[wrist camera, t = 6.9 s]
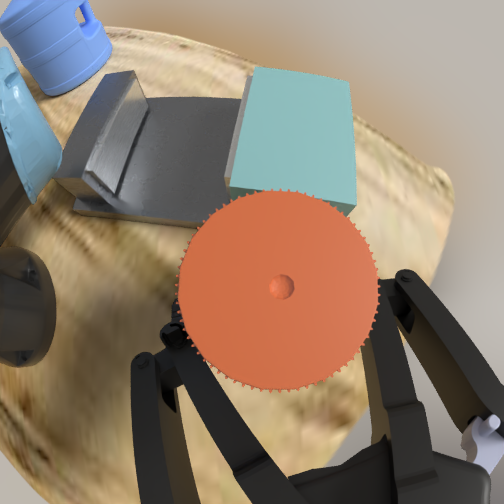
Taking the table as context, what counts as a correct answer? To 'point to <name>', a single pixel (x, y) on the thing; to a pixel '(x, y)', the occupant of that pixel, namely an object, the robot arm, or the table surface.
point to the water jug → (56, 41)
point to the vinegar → (278, 290)
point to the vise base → (149, 155)
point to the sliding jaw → (294, 138)
